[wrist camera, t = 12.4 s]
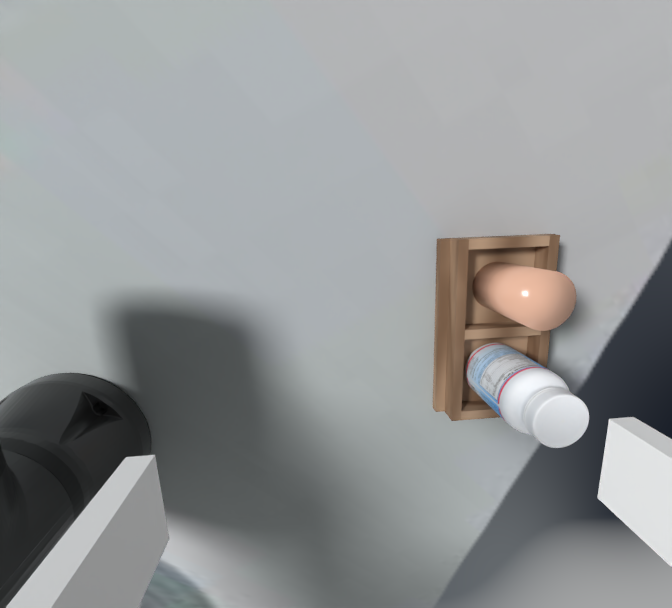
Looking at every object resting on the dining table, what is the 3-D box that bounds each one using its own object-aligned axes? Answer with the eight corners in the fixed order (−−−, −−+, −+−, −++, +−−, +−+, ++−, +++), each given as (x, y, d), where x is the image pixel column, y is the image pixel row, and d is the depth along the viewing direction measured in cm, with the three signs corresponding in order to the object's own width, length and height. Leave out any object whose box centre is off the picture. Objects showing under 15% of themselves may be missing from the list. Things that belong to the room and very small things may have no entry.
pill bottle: (519, 384, 39) (602, 445, 28) (467, 398, 39) (529, 465, 28) (512, 334, 37) (596, 378, 26) (458, 348, 37) (520, 398, 26)
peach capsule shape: (471, 310, 36) (515, 332, 29) (473, 262, 35) (519, 272, 28) (516, 307, 37) (572, 329, 29) (520, 260, 36) (579, 269, 28)
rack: (432, 407, 40) (442, 421, 37) (437, 238, 36) (448, 239, 33) (533, 399, 40) (550, 413, 38) (548, 234, 36) (569, 234, 33)
